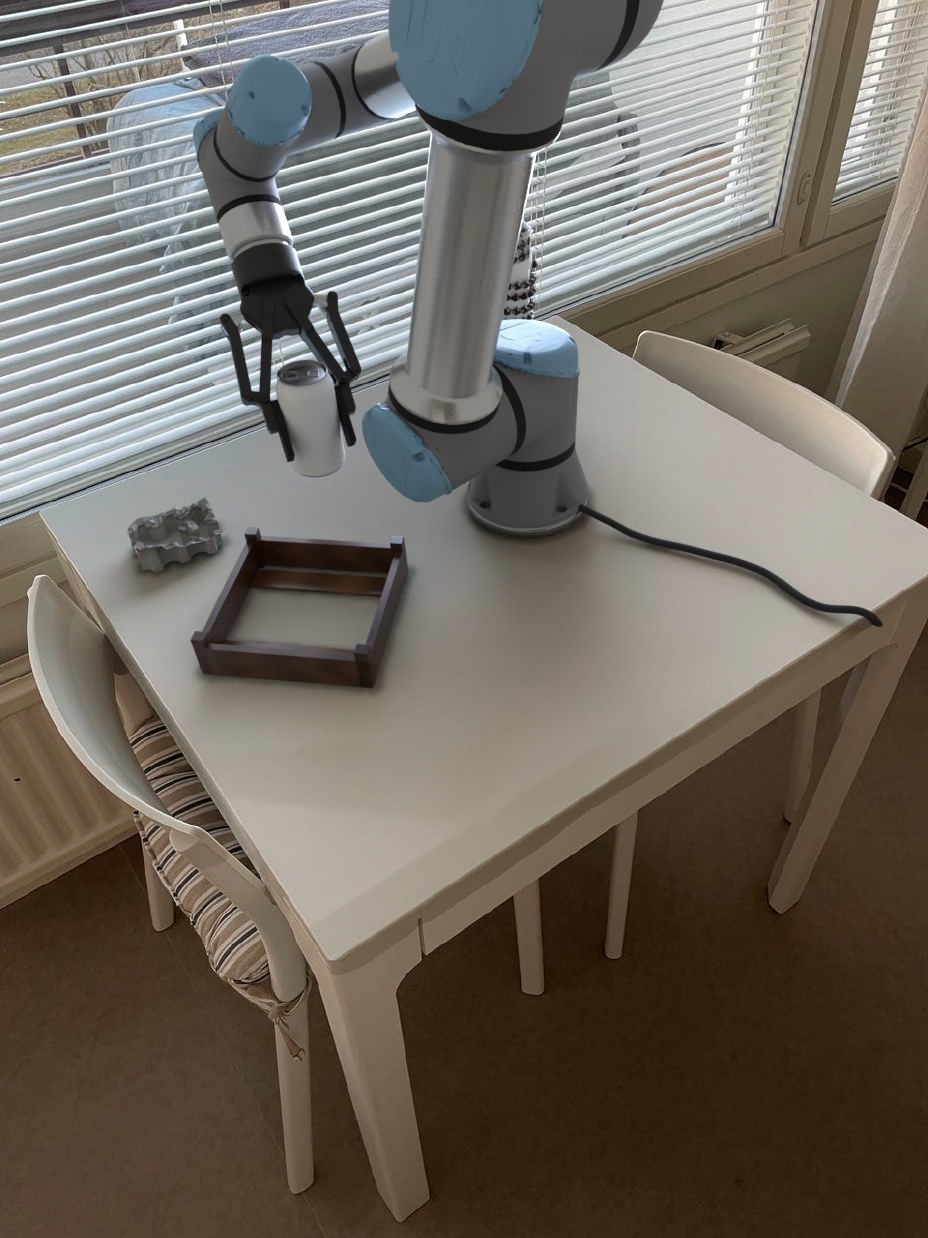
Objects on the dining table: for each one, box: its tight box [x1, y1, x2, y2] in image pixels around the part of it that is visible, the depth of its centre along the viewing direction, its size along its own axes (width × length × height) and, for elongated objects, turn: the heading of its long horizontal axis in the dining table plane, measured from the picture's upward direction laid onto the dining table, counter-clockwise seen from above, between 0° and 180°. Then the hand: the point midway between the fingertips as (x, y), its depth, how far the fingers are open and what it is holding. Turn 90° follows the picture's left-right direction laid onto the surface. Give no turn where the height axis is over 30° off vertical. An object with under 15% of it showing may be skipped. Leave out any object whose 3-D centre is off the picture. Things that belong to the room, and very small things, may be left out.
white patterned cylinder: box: [502, 218, 538, 320], centre depth 130 cm, size 9×9×25 cm
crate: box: [190, 526, 409, 689], centre depth 103 cm, size 19×19×5 cm
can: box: [275, 359, 346, 478], centre depth 107 cm, size 6×6×12 cm
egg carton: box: [126, 497, 224, 572], centre depth 114 cm, size 11×8×4 cm
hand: (321, 450), depth 106 cm, fingers closed on can, 6 cm apart
